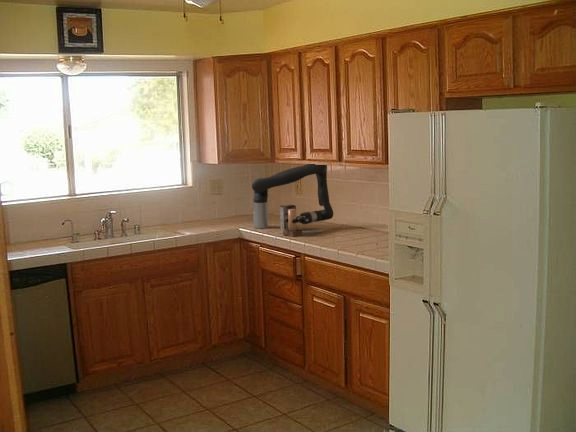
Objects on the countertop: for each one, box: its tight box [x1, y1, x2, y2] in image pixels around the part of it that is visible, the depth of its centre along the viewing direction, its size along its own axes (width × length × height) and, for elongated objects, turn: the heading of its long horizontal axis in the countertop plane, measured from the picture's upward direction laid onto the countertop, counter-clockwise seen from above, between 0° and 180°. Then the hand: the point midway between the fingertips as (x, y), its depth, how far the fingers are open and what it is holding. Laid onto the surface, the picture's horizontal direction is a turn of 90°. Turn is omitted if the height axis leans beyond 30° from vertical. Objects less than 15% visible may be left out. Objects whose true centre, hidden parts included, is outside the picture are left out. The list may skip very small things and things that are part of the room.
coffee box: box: [279, 204, 297, 231], centre depth 444 cm, size 9×6×16 cm
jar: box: [288, 209, 298, 232], centre depth 421 cm, size 5×5×16 cm
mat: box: [302, 230, 321, 235], centre depth 429 cm, size 9×9×1 cm
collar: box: [282, 229, 303, 238], centre depth 422 cm, size 8×8×3 cm
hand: (289, 221), depth 420 cm, fingers closed on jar, 5 cm apart
